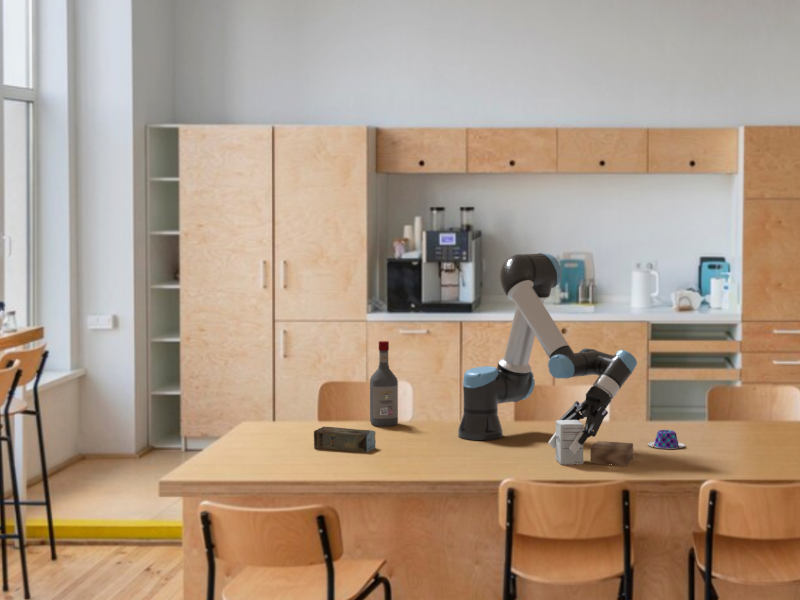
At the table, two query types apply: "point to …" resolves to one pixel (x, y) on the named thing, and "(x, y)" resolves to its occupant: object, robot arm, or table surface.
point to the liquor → (383, 392)
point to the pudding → (666, 440)
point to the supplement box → (568, 441)
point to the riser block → (611, 453)
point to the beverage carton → (344, 439)
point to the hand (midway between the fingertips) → (561, 448)
